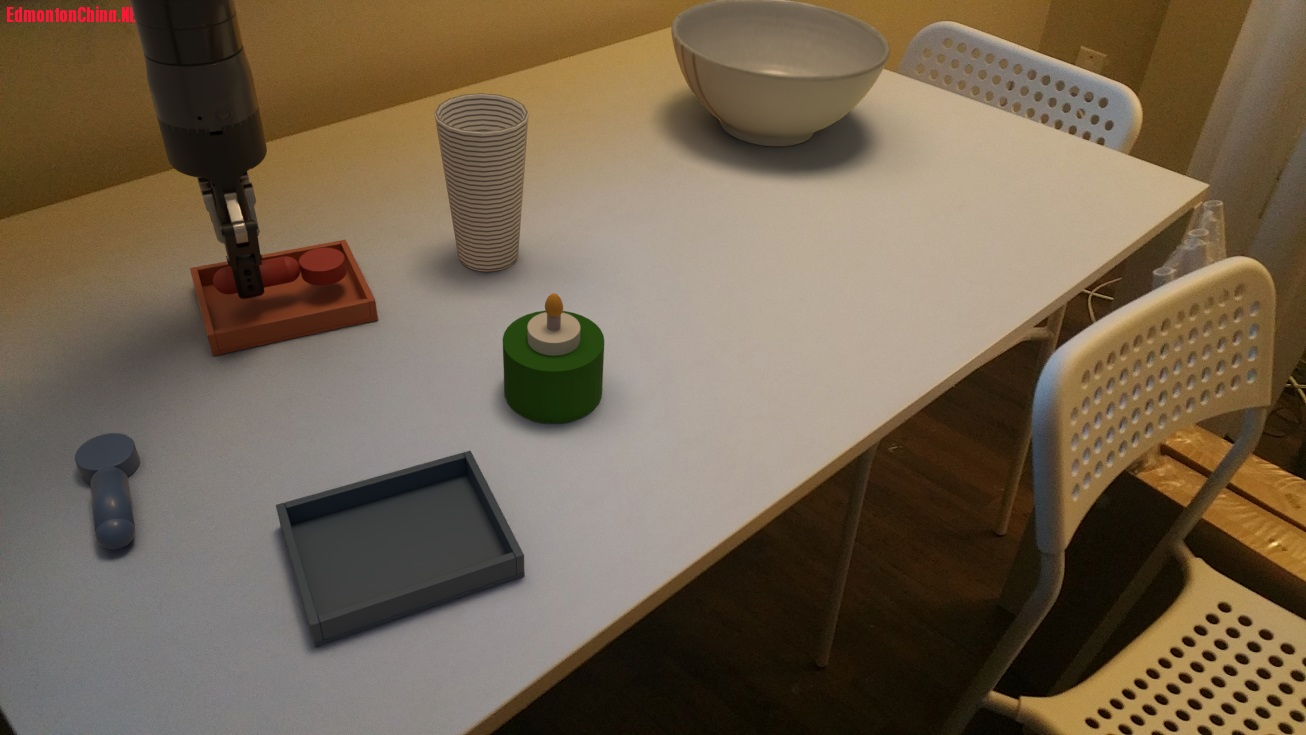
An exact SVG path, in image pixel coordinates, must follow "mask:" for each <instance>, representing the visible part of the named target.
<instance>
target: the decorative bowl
mask: <svg viewBox="0 0 1306 735" xmlns="http://www.w3.org/2000/svg"><path fill="white" fill-rule="evenodd" d="M670 27H671V28H670V29H671V30H670V31H671V33H670V34H671V40H672V45H673V49H674V54H675V58H676V60H677V63H678V67H679V68H680V72H681V74H682V76H683V78H684V80H685V82H686V84H687V86H688V88H689V89H690V90H691V93H692V94H693V95H694V97H695V98H696V99H697V101H698V102H699V103H700V104H701V105H702V107H704V109H705V110H707V111H708V112H709V113H710V114H711V115H712V116H713V117H715V118H716V119H718V120H719V124H720V126H721V128H722V129H723V130H724V131H725V132H726V133H727V134H729V135H730V136H732V137H734V138H736V139H738V140H740V141H743V142H747V143H748V144H749V143H750V144H753V145H759V146H764V147H789V146H795V145H799V144H803V143H804V142H807V141H809V140H810V139H811V138H812V137H813V135H814V134H815V133H816V132H819V131H821V130H823V129H826V128H828V127H830V126H832V125H833V124H835V123H837V122H838V121H840V120H841V119H843V118H844V117H845V116H846V115H848V114H849V113H850V112H851V111H852V110H853V109H854V108H856V107H857V106H858V104H860V102H862V100H863V99H864V98H865V97H866V96H867V94H868V93H869V92H870V90H871V89H872V88H873V87H874V85H875V84H876V82H877V80H878V79H879V78H880V76H881V75H882V72H883V70H884V69H885V66H886V64H887V63H888V60H889V57H890V53H891V47H890V44H889V42H888V40H887V38H886V37H885V35H884V34H882V32H880V31H879V30H878V29H877V28H876V27H874V26H872V25H871V24H869V23H867V22H866V21H864V20H862V19H860V18H858V17H856V16H853V15H851V14H849V13H846V12H843V11H840V10H837V9H833V8H830V7H827V6H823V5H818V4H815V3H809V2H804V1H799V0H798V1H797V0H710V1H704V2H701V3H698V4H695V5H692V6H690V7H687V8H686V9H684V10H683V11H681V12H679V13H678V14H677V15H676V16H675V18H674V19H673V21H672V23H671V26H670Z"/></svg>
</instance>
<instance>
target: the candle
mask: <svg viewBox="0 0 1306 735" xmlns="http://www.w3.org/2000/svg"><path fill="white" fill-rule="evenodd" d="M502 360H503V361H502V362H503V388H504V398H505V402H506V403H507V405H508V406H509V408H510V409H511V410H512V411H513V412H514V413H516V414H517V415H519V416H521V417H522V418H525V419H527V420H529V421H532V422H535V423H540V424H554V425H557V424H564V423H565V424H566V423H570V422H575V421H577V420H580V419H582V418H584V417H586V416H588V415H590V414H591V413H592V412H593V411H595V410H596V408H597V407H598V405H599V404H600V402H601V399H602V397H603V396H602V395H603V382H604V381H603V380H604V360H605V336H604V333H603V331H602V329H601V328H600V327H599V326H598V324H596V323H595V322H594V321H592V320H591V319H590V318H588V317H586V316H584V315H581V314H579V313H575V312H572V311H567V310H564V304H563V301H562V299H561V297H560V295H558V294H557V293H554V292H553V293H551V294H549V295H548V296H547V298H546V300H545V302H544V310H540V311H534V312H531V313H527V314H525V315H522V316H521V317H518V318H517V319H515V320H514V321H512V322H511V323H510V324H509V325H508V326H507V327H506V329H505V331H504V332H503V336H502Z"/></svg>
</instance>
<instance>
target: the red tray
mask: <svg viewBox="0 0 1306 735" xmlns="http://www.w3.org/2000/svg"><path fill="white" fill-rule="evenodd" d="M317 248H333V249H337V250H339V251H341V252H342V253H343V254H344V257H345V263H346V269H347V273H346V276H345V277H344V278H343V279H342V280H340V281H339V282H337V283H334V284H330V285H324V286H318V285H312V284H309V283H307V282H305V281H304V280H303V278H302V275H301V270H300V275H299V277H298V278H297V279H296V280H295V281H293V282H290V283H286V284H281V285H276V286H270V287H265V288H264V290H265V292H264V294H263V295H261V296H257V297H252V298H247V299H241V298H240V297H239V296H238V293H235V294H223V293H221V292H219V291H218V290H217V289H216V288H215V286H214V283H213V278H214V275H215V273H216V272H217V271H218V270H219V269H221V268H225V267H230V266H229V265H228V262H227V260H226V261H221V262H216V263H210V264H205V265H200V266H193V267H190V268H189V271H190V275H191V279H192V282H193V286H194V290H195V295H196V298H197V301H198V305H199V310H200V313H201V317H202V321H203V325H204V329H205V333H206V336H207V340H208V343H209V346H210V351H211V355H212V356H213V357H214V356H219V355H223V354H227V353H233V352H237V351H242V350H246V349H252V348H255V347H260V346H265V345H269V344H273V343H279V342H282V341H283V342H284V341H287V340H292V339H297V338H302V337H306V336H311V335H315V334H320V333H324V332H328V331H333V330H337V329H343V328H347V327H352V326H357V325H361V324H365V323H366V324H367V323H369V322H376V321H378V320H379V317H378V309H377V302H376V299H375V296H374V295H373V292H372V290H371V288H370V286H369V283H368V282H367V280H366V278H365V276H364V274H363V272H362V270H361V268H360V265H359V264H358V261H357V260H356V258H355V255H354V254H353V251H352V249H351V247H350V245H349V244H348V240H347V239H340V240H336V241H329V242H324V243H318V244H314V245H309V246H303V247H297V248H292V249H287V250H281V251H275V252H270V253H264V254H261V255H262V258H263V260H268V259H273V258H278V257H284V256H287V257H292V258H294V259H295V260H296V261H297V262H298V263H299V259H300V257H301V256H302V255H303V254H304V253H306V252H308V251H310V250H313V249H317ZM261 261H262V260H261Z"/></svg>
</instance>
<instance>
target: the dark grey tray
mask: <svg viewBox="0 0 1306 735" xmlns="http://www.w3.org/2000/svg"><path fill="white" fill-rule="evenodd" d="M275 509H276V513H277V517H278V522H279V525H280V529H281V532H282V537H283V539H284V543H285V546H286V550H287V554H288V557H289V560H290V564H291V568H292V571H293V574H294V578H295V581H296V585H297V588H298V592H299V595H300V599H301V603H302V606H303V610H304V613H305V616H306V620H307V624H308V627H309V631H310V635H311V638H312V641H313V645H314V647H319V646H322V645H324V644H328V643H331V642H333V641H336V640H340V639H342V638H343V639H344V638H346V637H348V636H351V635H354V634H357V633H360V632H363V631H366V630H369V629H372V628H375V627H377V626H381V625H384V624H387V623H390V622H393V621H396V620H398V619H399V620H400V619H401V618H405V617H408V616H410V615H413V614H417V613H418V612H422V611H425V610H428V609H430V608H433V607H437V606H440V605H442V604H446V603H448V602H452V601H454V600H457V599H460V598H463V597H466V596H469V595H472V594H475V593H478V592H481V591H484V590H487V589H490V588H492V587H496V586H498V585H501V584H504V583H508V582H511V581H513V580H516V579H519V578H522V577H525V575H526V574H525V573H526V572H525V553H524V552H523V549H522V548H521V546H520V544H519V542H518V540H517V538H516V536H515V534H514V532H513V531H512V529H511V526H510V525H509V523H508V520H507V519H506V517H505V515H504V513H503V511H502V510H501V508H500V505H499V504H498V501H497V499H496V497H495V495H494V494H493V491H492V489H491V487H490V486H489V484H488V482H487V480H486V478H485V476H484V474H483V472H482V470H481V468H480V466H479V464H478V463H477V461H476V459H475V456H474V454H473V453H472V451H471V450H467V451H464V452H460V453H457V454H453V455H449V456H446V457H442V458H438V459H435V460H432V461H431V460H430V461H428V462H424V463H421V464H417V465H414V466H410V467H406V468H403V469H399V470H396V471H392V472H388V473H385V474H380V475H377V476H374V477H371V478H367V479H364V480H359V481H356V482H351V483H349V484H346V485H342V486H338V487H335V488H332V489H331V488H330V489H328V490H324V491H321V492H317V493H313V494H309V495H306V496H302V497H299V498H295V499H292V500H289V501H285V502H281V503H277V504H275Z"/></svg>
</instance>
